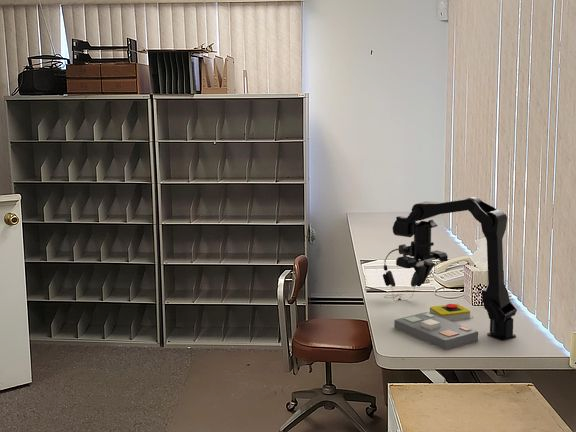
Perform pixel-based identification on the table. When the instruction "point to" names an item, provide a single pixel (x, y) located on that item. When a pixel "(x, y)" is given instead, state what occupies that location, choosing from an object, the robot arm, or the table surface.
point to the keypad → (437, 331)
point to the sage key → (413, 319)
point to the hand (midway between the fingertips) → (421, 283)
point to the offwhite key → (430, 324)
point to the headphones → (390, 280)
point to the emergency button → (451, 312)
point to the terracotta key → (448, 333)
